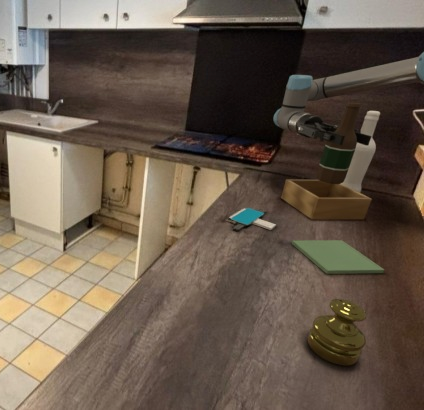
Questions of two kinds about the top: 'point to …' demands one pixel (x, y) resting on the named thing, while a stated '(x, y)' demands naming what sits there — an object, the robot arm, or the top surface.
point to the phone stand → (249, 219)
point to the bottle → (362, 154)
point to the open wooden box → (325, 199)
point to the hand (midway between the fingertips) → (355, 140)
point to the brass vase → (338, 333)
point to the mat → (336, 257)
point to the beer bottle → (340, 149)
